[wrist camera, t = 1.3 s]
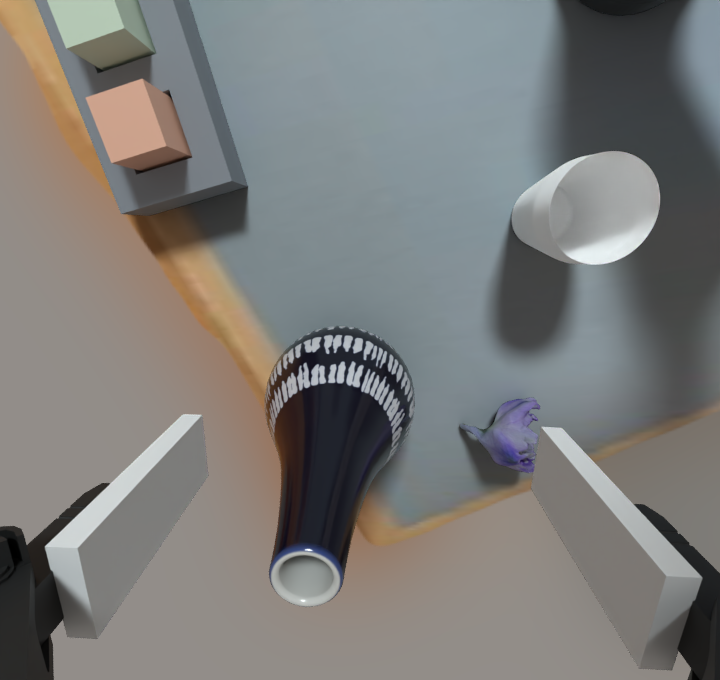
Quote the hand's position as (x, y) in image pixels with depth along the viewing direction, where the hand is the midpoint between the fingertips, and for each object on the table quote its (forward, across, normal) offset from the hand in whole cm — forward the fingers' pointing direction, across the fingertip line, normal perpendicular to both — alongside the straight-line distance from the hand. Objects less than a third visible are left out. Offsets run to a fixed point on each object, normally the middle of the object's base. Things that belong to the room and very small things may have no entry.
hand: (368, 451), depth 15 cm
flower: (+32, +16, -15) cm, 39 cm away
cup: (+32, +18, +10) cm, 39 cm away
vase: (+32, -3, -9) cm, 34 cm away
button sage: (+30, -24, +25) cm, 46 cm away
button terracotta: (+29, -22, +17) cm, 40 cm away
